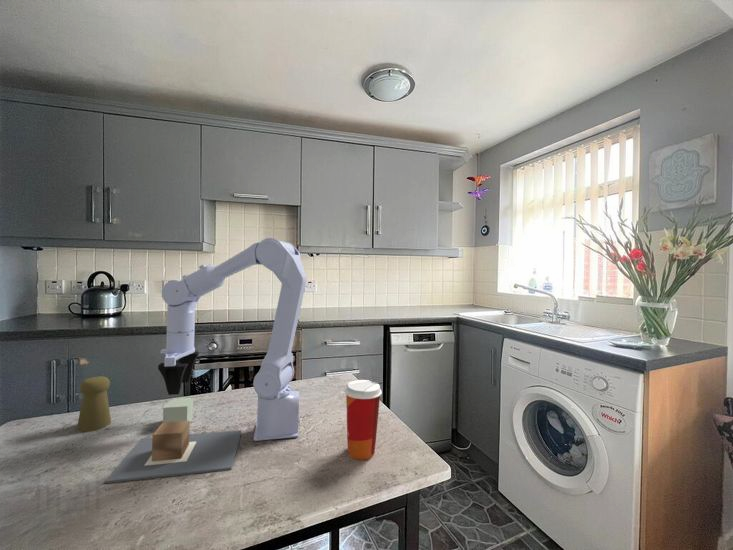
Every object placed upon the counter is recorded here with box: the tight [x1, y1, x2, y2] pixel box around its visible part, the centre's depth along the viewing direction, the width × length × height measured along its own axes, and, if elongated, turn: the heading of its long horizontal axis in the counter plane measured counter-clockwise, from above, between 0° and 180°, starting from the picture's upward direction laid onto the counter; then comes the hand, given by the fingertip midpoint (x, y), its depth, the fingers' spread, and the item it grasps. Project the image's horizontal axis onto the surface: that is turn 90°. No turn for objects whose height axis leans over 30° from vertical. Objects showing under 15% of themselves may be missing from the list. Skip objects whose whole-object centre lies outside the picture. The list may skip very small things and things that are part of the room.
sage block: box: [162, 397, 195, 423], centre depth 76 cm, size 5×5×5 cm
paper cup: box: [344, 379, 383, 461], centre depth 66 cm, size 8×8×14 cm
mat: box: [104, 429, 243, 484], centre depth 63 cm, size 20×14×1 cm
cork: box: [76, 375, 112, 433], centre depth 73 cm, size 6×6×11 cm
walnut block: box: [151, 421, 191, 461], centre depth 63 cm, size 5×5×5 cm
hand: (179, 387), depth 76 cm, fingers open, 7 cm apart
